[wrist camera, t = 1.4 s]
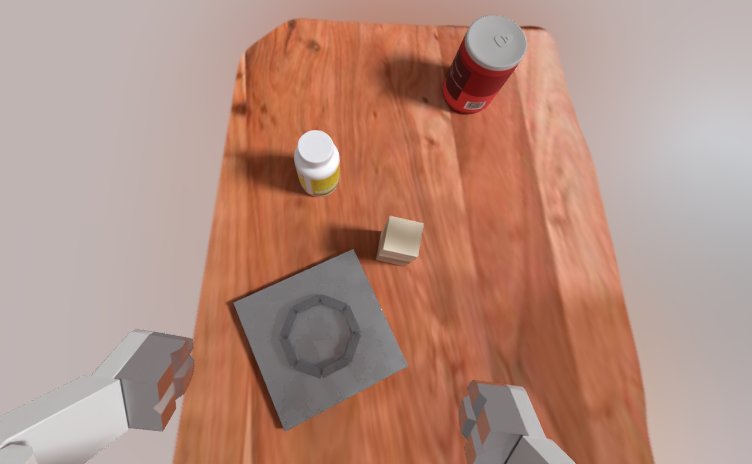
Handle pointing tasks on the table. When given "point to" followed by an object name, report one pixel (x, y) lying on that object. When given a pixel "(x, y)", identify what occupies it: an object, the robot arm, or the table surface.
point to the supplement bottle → (317, 163)
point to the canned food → (483, 63)
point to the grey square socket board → (319, 338)
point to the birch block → (399, 241)
